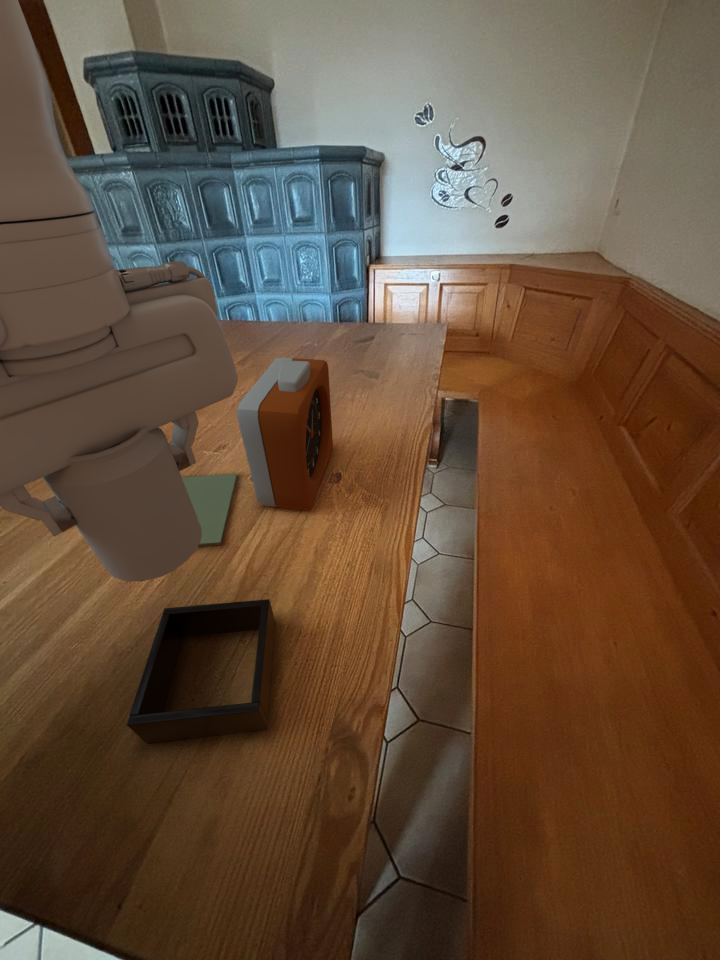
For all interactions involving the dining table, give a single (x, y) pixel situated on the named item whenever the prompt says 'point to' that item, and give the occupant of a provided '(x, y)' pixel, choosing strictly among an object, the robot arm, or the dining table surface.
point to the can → (131, 506)
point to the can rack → (162, 661)
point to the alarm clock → (288, 431)
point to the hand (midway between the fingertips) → (128, 493)
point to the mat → (211, 504)
